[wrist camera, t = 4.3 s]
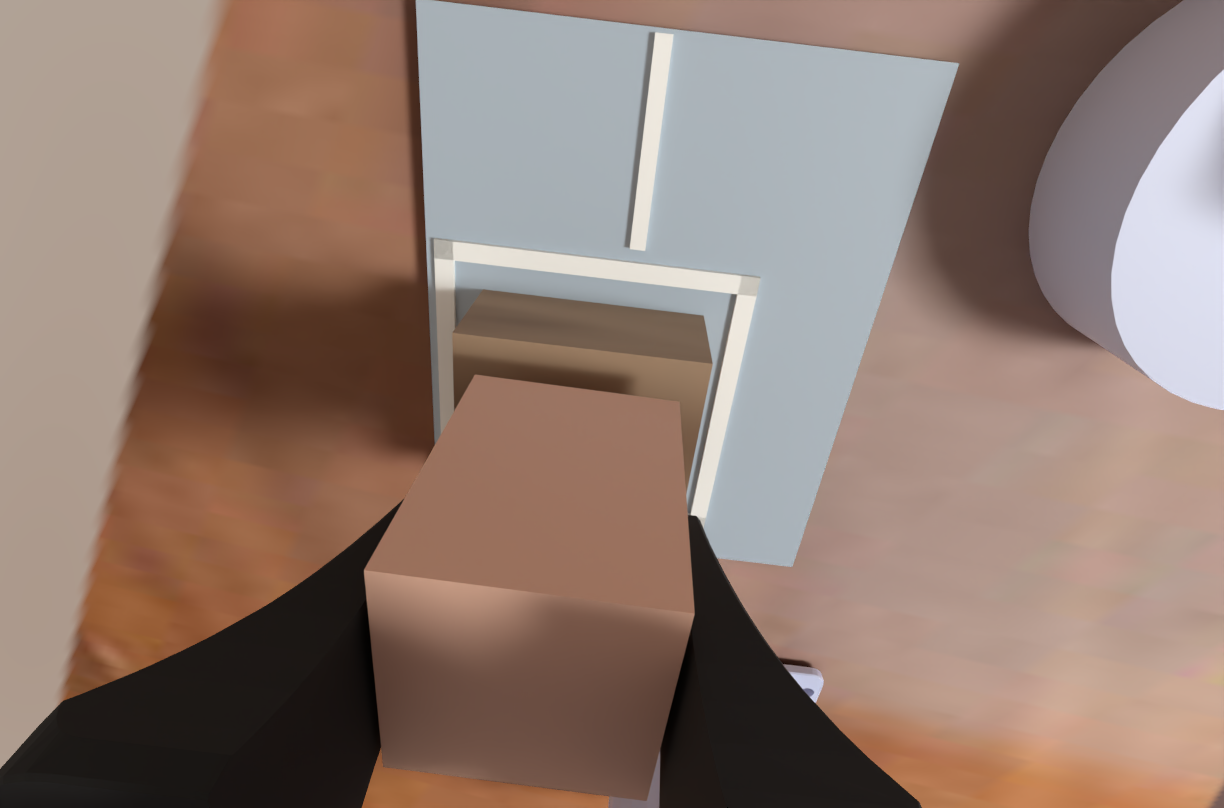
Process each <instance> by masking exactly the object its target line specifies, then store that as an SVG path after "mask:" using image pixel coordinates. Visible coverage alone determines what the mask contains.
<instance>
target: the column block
mask: <svg viewBox="0 0 1224 808" xmlns="http://www.w3.org/2000/svg"><path fill="white" fill-rule="evenodd" d="M364 577H365V587H366V597H367V608H368V618H369V628H370V638H371V648H372V658H373V668H374V679H375V689H376V699H377V709H378V719H379V729H380V739H381V750H382V760H383V767H388V768H396V769H403V770H411V771H419V772H426V773H434V774H442V775H449V776H457V777H465V778H473V779H480V780H488V781H496V782H503V783H511V784H519V785H527V786H534V787H542V788H550V789H557V790H565V791H573V792H580V793H588V794H596V795H604V796H611V797H619V798H627V799H634V800H642V801H647V798H648V794H649V790H650V786H651V782H652V779H653V775H654V771H655V767H656V763H657V759H658V755H659V751H660V747H661V743H662V740H663V736H664V732H665V728H666V724H667V720H668V716H669V712H670V708H671V704H672V700H673V697H674V693H675V689H676V685H677V681H678V677H679V673H680V669H681V665H682V661H683V658H684V654H685V650H686V646H687V642H688V638H689V634H690V630H691V626H692V622H693V618H694V615H695V610H694V596H693V582H692V568H691V554H690V540H689V526H688V512H687V498H686V484H685V470H684V456H683V442H682V428H681V414H680V402H678V401H671V400H663V399H656V398H648V397H641V396H633V395H626V394H618V393H611V392H603V391H595V390H588V389H580V388H573V387H565V386H558V385H550V384H543V383H535V382H528V381H520V380H513V379H505V378H498V377H490V376H483V375H474V377H473V379H472V381H471V382H470V384H469V386H468V388H467V389H466V391H465V393H464V395H463V396H462V398H461V400H460V402H459V404H458V405H457V407H456V409H455V411H454V412H453V414H452V416H451V418H450V419H449V421H448V423H447V425H446V426H445V428H444V430H443V432H442V433H441V435H440V437H439V439H438V440H437V442H436V444H435V446H434V448H433V449H432V451H431V453H430V455H429V456H428V458H427V460H426V462H425V463H424V465H423V467H422V469H421V470H420V472H419V474H418V476H417V477H416V479H415V481H414V483H413V485H412V486H411V488H410V490H409V492H408V493H407V495H406V497H405V499H404V500H403V502H402V504H401V506H400V507H399V509H398V511H397V513H396V514H395V516H394V518H393V520H392V521H391V523H390V525H389V527H388V529H387V530H386V532H385V534H384V536H383V537H382V539H381V541H380V543H379V544H378V546H377V548H376V550H375V551H374V553H373V555H372V557H371V558H370V560H369V562H368V564H367V566H366V567H365V569H364Z"/></svg>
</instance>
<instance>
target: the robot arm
mask: <svg viewBox="0 0 1224 808" xmlns="http://www.w3.org/2000/svg"><path fill="white" fill-rule="evenodd" d="M404 499H405V498H404ZM404 499H403V500H404ZM403 500H402V501H401V502H400V503H399V504H398V505H397V506H396V507H394V508H393V509H392V510H391V511H390V512H389V513H388V514H387V515H385V516H384V517H383V518H382V519H381V520H380V521H379V522H378V523H376V524H375V525H374V526H373V527H372V528H371V529H369V530H368V531H367V532H366V533H365V534H363V535H362V536H361V537H360V538H359V539H357V540H356V541H355V542H354V543H353V544H352V545H350V546H349V547H348V548H347V549H345V550H344V551H343V552H341V553H340V554H339V555H338V556H336V557H335V558H334V559H332V560H331V561H330V562H328V563H327V564H326V565H324V566H323V567H322V568H320V569H319V570H318V571H317V572H315V573H314V574H312V575H311V576H310V577H308V578H307V579H305V580H304V581H303V582H301V583H300V584H298V585H297V586H295V587H294V588H292V589H291V590H289V591H288V592H286V593H285V594H283V595H282V596H280V597H279V598H277V599H276V600H274V601H272V602H271V603H269V604H268V605H266V606H264V607H263V608H261V609H259V610H258V611H256V612H254V613H252V614H250V615H249V616H247V617H245V618H243V619H241V620H240V621H238V622H236V623H234V624H233V625H231V626H229V627H227V628H225V629H224V630H222V631H220V632H218V633H216V634H215V635H213V636H211V637H209V638H207V639H205V640H203V641H201V642H199V643H197V644H195V645H193V646H191V647H189V648H187V649H185V650H183V651H181V652H179V653H176V654H174V655H172V656H170V657H168V658H166V659H164V660H161V661H159V662H157V663H155V664H153V665H151V666H148V667H146V668H144V669H141V670H139V671H137V672H135V673H132V674H130V675H127V676H125V677H122V678H120V679H117V680H115V681H112V682H110V683H108V684H105V685H103V686H100V687H98V688H95V689H93V690H90V691H88V692H85V693H83V694H80V695H78V696H75V697H73V698H70V699H67V700H65V701H63V702H62V703H61V704H60V705H59V706H58V707H57V708H56V709H55V710H54V711H53V712H52V713H51V714H50V715H49V716H48V717H47V718H46V719H45V720H44V721H43V722H42V723H41V724H40V725H39V726H38V727H37V728H36V730H35V731H34V732H33V733H32V734H31V735H30V736H29V737H28V739H27V740H26V741H25V742H24V743H23V744H22V745H21V746H20V747H19V749H18V750H17V751H16V752H15V753H14V754H13V755H12V756H11V758H10V759H9V760H8V761H7V762H6V763H5V764H4V765H3V766H2V768H1V769H0V808H362V804H363V801H364V798H365V795H366V792H367V788H368V785H369V782H370V779H371V776H372V772H373V769H374V766H375V763H376V760H377V757H378V754H379V751H380V748H381V739H380V729H379V719H378V709H377V699H376V689H375V679H374V668H373V658H372V648H371V638H370V628H369V618H368V608H367V597H366V587H365V577H364V569H365V567H366V566H367V564H368V562H369V560H370V558H371V557H372V555H373V553H374V551H375V550H376V548H377V546H378V544H379V543H380V541H381V539H382V537H383V536H384V534H385V532H386V530H387V529H388V527H389V525H390V523H391V521H392V520H393V518H394V516H395V514H396V513H397V511H398V509H399V507H400V506H401V504H402V502H403ZM688 526H689V540H690V554H691V568H692V582H693V596H694V610H695V615H694V618H693V622H692V626H691V630H690V634H689V638H688V642H687V646H686V650H685V654H684V658H683V661H682V665H681V669H680V673H679V677H678V681H677V685H676V689H675V693H674V697H673V700H672V704H671V708H670V712H669V716H668V720H667V724H666V728H665V732H664V736H663V740H662V743H661V747H660V751H659V755H658V759H657V763H656V767H655V771H654V775H653V779H652V782H651V786H650V790H649V794H648V798H647V801H642V800H634V799H627V798H619V797H611V796H609V808H922V807H921V805H920V803H919V802H918V801H917V800H916V799H915V798H914V797H913V796H912V795H910V794H909V793H908V792H907V791H906V790H905V789H904V788H902V787H901V786H900V785H899V784H898V783H897V782H896V781H894V780H893V779H892V778H891V777H890V776H889V775H888V774H886V773H885V772H884V771H883V770H882V769H881V768H879V767H878V766H877V765H876V764H875V763H874V762H873V761H871V760H870V759H869V758H868V757H867V756H866V755H865V754H864V753H863V752H862V751H861V750H860V749H859V748H858V747H857V746H856V745H855V744H854V743H853V742H852V741H851V740H850V739H849V738H848V737H847V736H846V735H845V734H843V733H842V732H841V731H840V730H839V729H838V728H837V726H836V725H835V724H834V723H833V722H832V721H831V720H830V719H829V718H828V717H827V715H826V714H825V713H824V712H823V711H822V710H821V709H820V708H819V707H818V706H817V705H816V701H817V698H818V696H819V694H820V691H821V689H822V686H823V682H824V681H823V678H822V674H821V672H820V671H819V670H817V669H815V668H811V667H803V666H795V665H786V664H782V662H781V661H780V660H779V658H778V657H777V656H776V654H775V653H774V652H773V650H772V649H771V648H770V646H769V645H768V643H767V642H766V641H765V639H764V638H763V636H762V635H761V633H760V632H759V630H758V629H757V627H756V626H755V624H754V623H753V621H752V619H751V618H750V616H749V615H748V613H747V612H746V610H745V608H744V607H743V605H742V603H741V602H740V600H739V598H738V597H737V595H736V593H735V591H734V589H733V588H732V586H731V584H730V582H729V580H728V579H727V577H726V575H725V573H724V571H723V569H722V567H721V565H720V564H719V561H718V559H717V557H716V555H715V553H714V551H713V549H712V547H711V545H710V543H709V540H708V538H707V536H706V533H705V531H704V529H703V526H702V524H701V521H700V520H699V519H698V517H697V516H693V515H688Z"/></svg>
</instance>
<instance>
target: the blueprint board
mask: <svg viewBox="0 0 1224 808" xmlns="http://www.w3.org/2000/svg"><path fill="white" fill-rule="evenodd" d="M416 16H417V40H418V63H419V87H420V110H421V134H422V157H423V181H424V204H425V228H426V251H427V275H428V298H429V322H430V345H431V369H432V392H433V416H434V439H435V444H436V442H437V440H438V439H439V437H440V435H441V433H442V432H443V430H444V428H445V426H446V425H447V423H448V421H449V419H450V418H451V416H452V414H453V412H454V388H453V345H452V333H453V331H454V330H455V328H456V327H457V325H458V324H459V323H460V321H461V320H462V318H463V317H464V316H465V314H466V313H467V311H468V310H469V308H470V307H471V306H472V304H473V303H474V301H475V300H476V299H477V297H478V296H479V294H480V293H481V291H482V290H483V289H485V290H493V291H501V292H510V293H518V294H527V295H535V296H543V297H552V298H560V299H569V300H577V301H585V302H594V303H602V304H611V305H619V306H627V307H636V308H644V309H653V310H661V311H669V312H678V313H686V314H695V315H703V316H704V320H705V325H706V330H707V336H708V341H709V346H710V352H711V357H712V362H713V365H712V370H711V375H710V380H709V385H708V390H707V395H706V400H705V405H704V410H703V415H702V420H701V424H700V429H699V434H698V439H697V444H696V449H695V454H694V459H693V464H692V469H691V474H690V478H689V483H688V488H687V493H686V498H687V512H688V515H693V516H697V517H698V519H699V520H700V521H701V524H702V526H703V529H704V531H705V533H706V536H707V538H708V540H709V543H710V545H711V547H712V549H713V551H714V553H715V555H716V557H717V558H721V559H730V560H738V561H747V562H755V563H764V564H772V565H780V566H789V567H792V566H793V563H794V560H795V557H796V554H797V551H798V548H799V545H800V542H801V539H802V536H803V533H804V530H805V527H806V524H807V521H808V518H809V515H810V512H811V509H812V506H813V503H814V500H815V497H816V494H817V491H818V488H819V485H820V482H821V479H822V476H823V473H824V470H825V467H826V464H827V461H828V458H829V455H830V452H831V449H832V446H833V443H834V440H835V437H836V434H837V431H838V428H839V425H840V422H841V419H842V416H843V413H844V410H845V407H846V404H847V401H848V397H849V394H850V391H851V388H852V385H853V382H854V379H855V376H856V373H857V370H858V367H859V364H860V361H861V358H862V355H863V352H864V349H865V346H866V343H867V340H868V337H869V334H870V331H871V328H872V325H873V322H874V319H875V316H876V313H877V310H878V307H879V304H880V301H881V298H882V295H883V292H884V289H885V286H886V283H887V280H888V277H889V274H890V271H891V268H892V265H893V262H894V259H895V256H896V253H897V250H898V247H899V244H900V241H901V238H902V235H903V232H904V229H905V226H906V223H907V220H908V217H909V214H910V211H911V208H912V205H913V202H914V199H915V196H916V193H917V190H918V187H919V184H920V181H921V178H922V175H923V172H924V169H925V166H926V162H927V159H928V156H929V153H930V150H931V147H932V144H933V141H934V138H935V135H936V132H937V129H938V126H939V123H940V120H941V117H942V114H943V111H944V108H945V105H946V102H947V99H948V96H949V93H950V90H951V87H952V84H953V81H954V78H955V75H956V72H957V69H958V66H959V63H952V62H944V61H935V60H927V59H919V58H910V57H902V56H894V55H885V54H877V53H868V52H860V51H852V50H843V49H835V48H827V47H818V46H810V45H802V44H793V43H785V42H777V41H768V40H760V39H751V38H743V37H735V36H726V35H718V34H710V33H701V32H693V31H685V30H676V29H668V28H660V27H651V26H643V25H634V24H626V23H618V22H609V21H601V20H593V19H584V18H576V17H568V16H559V15H551V14H542V13H534V12H526V11H517V10H509V9H501V8H492V7H484V6H476V5H467V4H459V3H451V2H442V1H434V0H416Z"/></svg>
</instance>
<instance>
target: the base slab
mask: <svg viewBox="0 0 1224 808" xmlns="http://www.w3.org/2000/svg"><path fill="white" fill-rule="evenodd" d="M452 345H453V388H454V411H455V409H456V407H457V405H458V404H459V402H460V400H461V398H462V396H463V395H464V393H465V391H466V389H467V388H468V386H469V384H470V382H471V381H472V379H473V377H474V375H483V376H490V377H498V378H505V379H513V380H520V381H528V382H535V383H543V384H550V385H558V386H565V387H573V388H580V389H588V390H595V391H603V392H611V393H618V394H626V395H633V396H641V397H648V398H656V399H663V400H671V401H678V402H680V414H681V428H682V442H683V456H684V470H685V484H686V493H687V488H688V483H689V478H690V474H691V469H692V464H693V459H694V454H695V449H696V444H697V439H698V434H699V429H700V424H701V420H702V415H703V410H704V405H705V400H706V395H707V390H708V385H709V380H710V375H711V370H712V365H713V362H712V357H711V352H710V346H709V341H708V336H707V330H706V325H705V320H704V316H703V315H695V314H686V313H678V312H669V311H661V310H653V309H644V308H636V307H627V306H619V305H611V304H602V303H594V302H585V301H577V300H569V299H560V298H552V297H543V296H535V295H527V294H518V293H510V292H501V291H493V290H485V289H483V290H482V291H481V293H480V294H479V296H478V297H477V299H476V300H475V301H474V303H473V304H472V306H471V307H470V308H469V310H468V311H467V313H466V314H465V316H464V317H463V318H462V320H461V321H460V323H459V324H458V325H457V327H456V328H455V330H454V331H453V333H452Z"/></svg>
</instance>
